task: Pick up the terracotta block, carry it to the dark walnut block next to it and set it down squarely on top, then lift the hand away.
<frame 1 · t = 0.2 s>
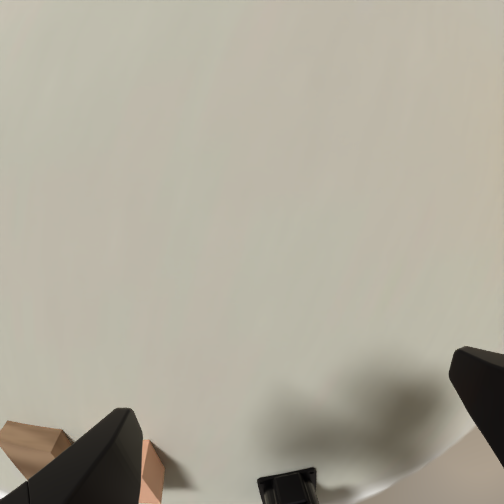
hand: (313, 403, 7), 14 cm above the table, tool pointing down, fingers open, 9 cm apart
terracotta block: (135, 454, 24), on the table
walnut block: (51, 450, 24), on the table
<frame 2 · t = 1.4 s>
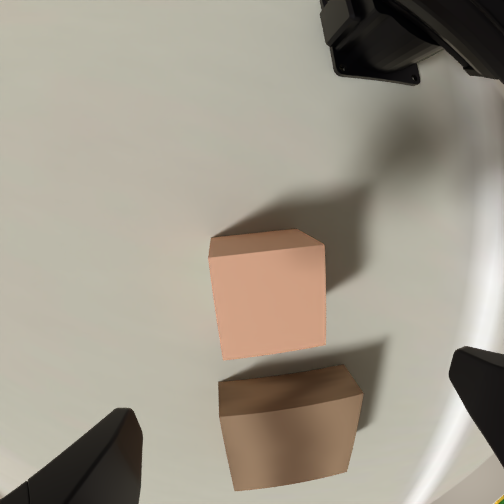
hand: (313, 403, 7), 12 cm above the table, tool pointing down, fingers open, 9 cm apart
dish sponge: (500, 499, 48), on the table
terracotta block: (258, 274, 18), on the table
walnut block: (283, 416, 21), on the table
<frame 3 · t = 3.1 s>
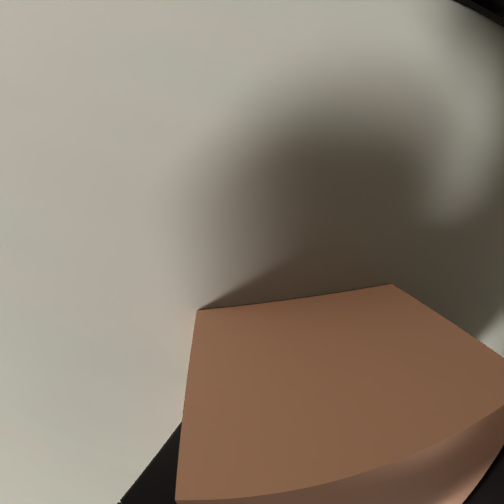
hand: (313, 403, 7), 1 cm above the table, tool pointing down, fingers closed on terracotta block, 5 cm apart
terracotta block: (303, 380, 8), on the table, touching gripper
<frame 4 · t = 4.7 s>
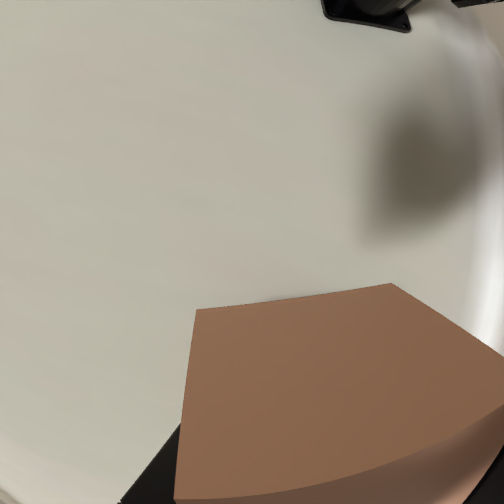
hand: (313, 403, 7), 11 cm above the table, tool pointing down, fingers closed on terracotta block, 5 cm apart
terracotta block: (303, 380, 8), point 10 cm above the table, touching gripper
when the fingers open (6 cm above the table, at t = 6.6 s): terracotta block drops 2 cm, point 4 cm above the table.
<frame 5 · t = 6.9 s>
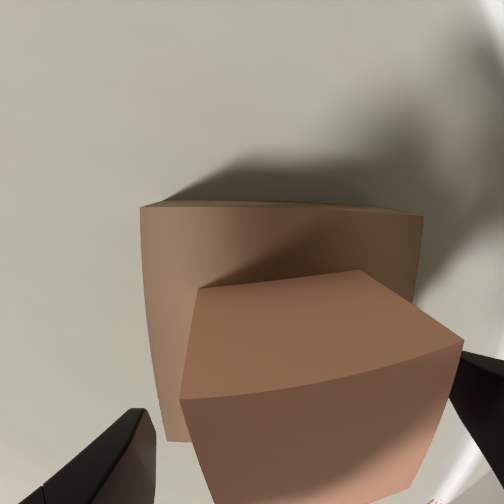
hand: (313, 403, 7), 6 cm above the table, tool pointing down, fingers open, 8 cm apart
terracotta block: (285, 351, 10), point 4 cm above the table
walnut block: (269, 303, 13), on the table
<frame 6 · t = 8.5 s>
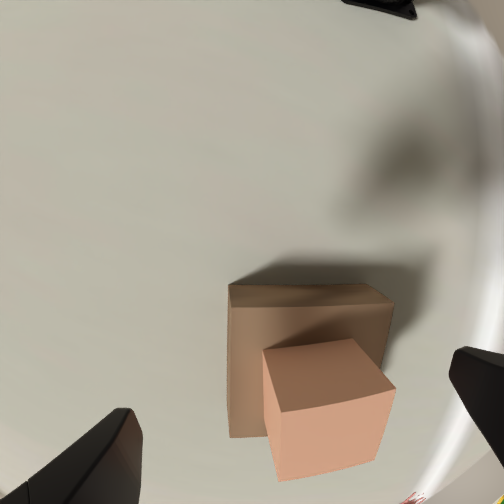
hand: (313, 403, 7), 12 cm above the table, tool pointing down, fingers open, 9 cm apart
dish sponge: (503, 496, 46), on the table
terracotta block: (307, 381, 16), point 4 cm above the table, touching walnut block
walnut block: (294, 346, 20), on the table, touching terracotta block
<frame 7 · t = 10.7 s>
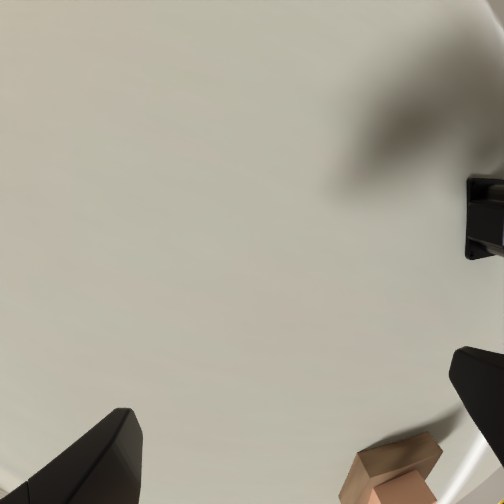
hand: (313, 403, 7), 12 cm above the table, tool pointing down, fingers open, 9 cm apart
dish sponge: (501, 501, 52), on the table
terracotta block: (391, 489, 21), point 4 cm above the table, touching walnut block
walnut block: (381, 465, 25), on the table, touching terracotta block
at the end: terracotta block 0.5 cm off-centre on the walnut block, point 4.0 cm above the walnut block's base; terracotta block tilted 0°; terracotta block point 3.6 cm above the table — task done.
